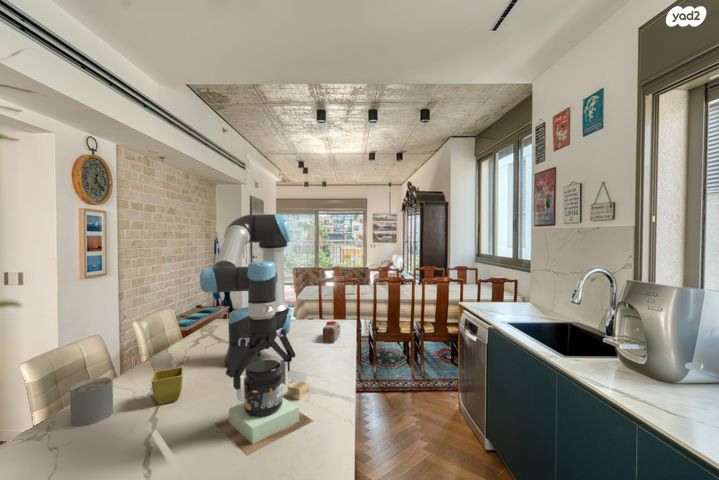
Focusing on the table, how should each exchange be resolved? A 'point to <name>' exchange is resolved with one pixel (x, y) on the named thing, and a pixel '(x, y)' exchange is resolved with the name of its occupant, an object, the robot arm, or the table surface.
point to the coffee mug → (91, 401)
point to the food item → (331, 332)
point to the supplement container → (262, 388)
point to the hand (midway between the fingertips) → (263, 391)
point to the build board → (250, 448)
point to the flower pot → (167, 385)
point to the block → (298, 390)
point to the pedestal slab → (263, 421)
